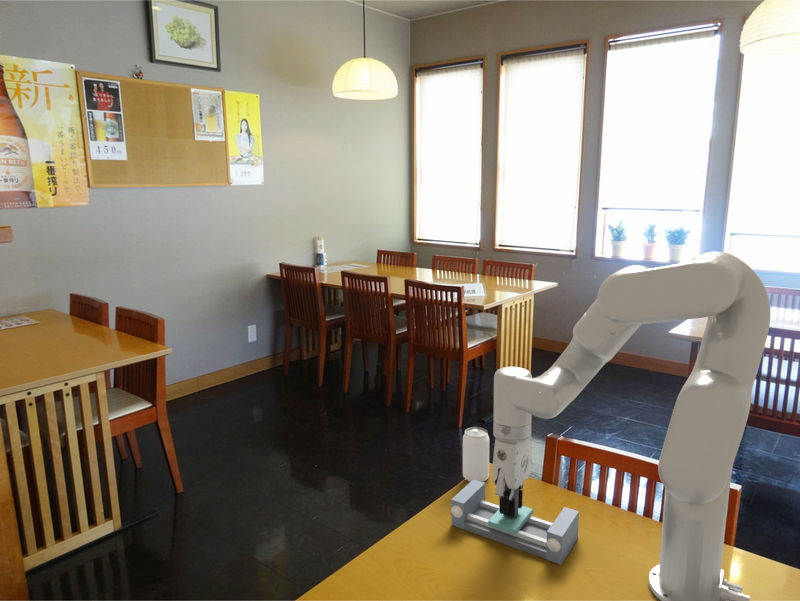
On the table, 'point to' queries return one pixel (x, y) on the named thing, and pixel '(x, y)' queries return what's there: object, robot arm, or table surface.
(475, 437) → the can
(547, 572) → the table surface
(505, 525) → the carriage
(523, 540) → the rail track
